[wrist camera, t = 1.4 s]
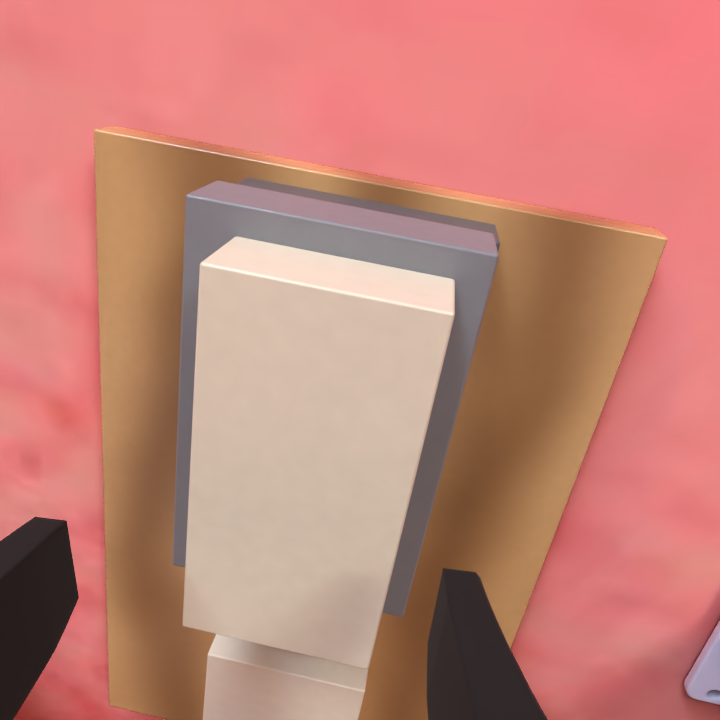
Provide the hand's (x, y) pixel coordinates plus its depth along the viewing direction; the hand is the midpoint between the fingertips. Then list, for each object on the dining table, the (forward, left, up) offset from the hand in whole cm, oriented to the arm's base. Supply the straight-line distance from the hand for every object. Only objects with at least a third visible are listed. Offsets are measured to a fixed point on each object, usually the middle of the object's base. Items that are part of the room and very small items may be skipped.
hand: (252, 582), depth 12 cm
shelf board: (0, +6, -10) cm, 12 cm away
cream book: (0, 0, -5) cm, 5 cm away
